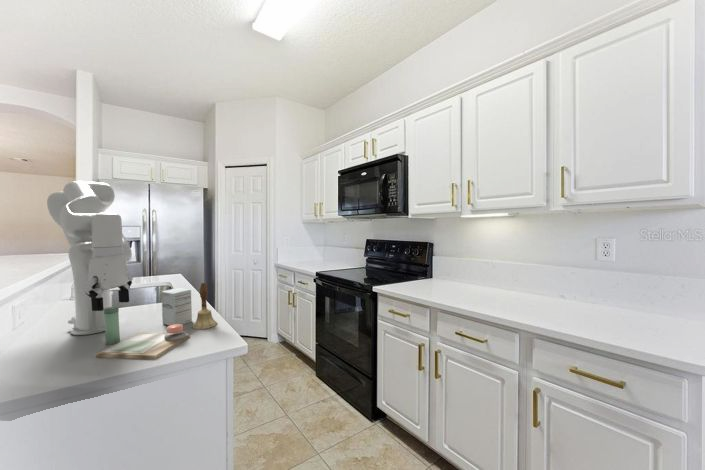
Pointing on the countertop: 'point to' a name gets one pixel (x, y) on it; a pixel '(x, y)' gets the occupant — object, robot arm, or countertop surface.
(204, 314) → the hand bell
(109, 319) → the green cylinder
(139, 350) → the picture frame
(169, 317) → the supplement box
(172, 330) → the button
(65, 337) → the countertop surface
